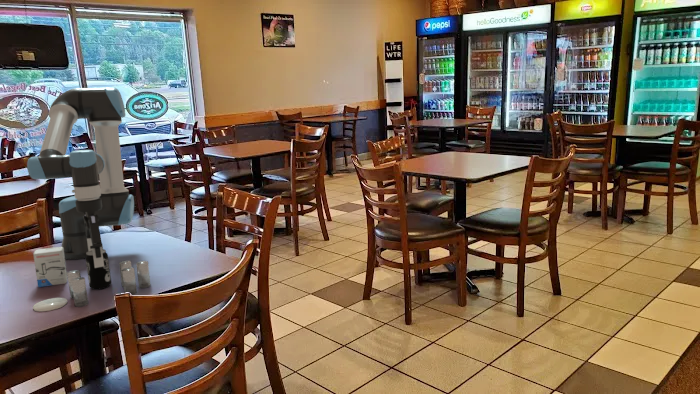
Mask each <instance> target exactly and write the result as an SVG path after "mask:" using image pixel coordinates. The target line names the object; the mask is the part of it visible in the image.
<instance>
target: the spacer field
mask: <svg viewBox="0 0 700 394" xmlns="http://www.w3.org/2000/svg"><path fill="white" fill-rule="evenodd" d="M118 265H119V274H120V282H121V287H122V288H123V290H124V291H123V292H124V293H125V292H130V293H131V294H132V295H131V296H134V295H136V294H137V293H138V290H137V284H138V288H139V289H146V287H147V288H149V287H151V276H150V268H149V262H148V261H147V260H143V261H142V260H141V261H138V262H136V263H135V266H136V272H135V268H134V267H132V261H131V260H123V261H119V262H118ZM135 273H137V274H135ZM136 275H137V281H136ZM67 278H68V279H67V282H68V289H69V295H70V299H73V300H74V306H75V307H76V308H77V307H78V308H79V307H85V306H87V305H89V297H88V292H87V291H88V290H87V284H86V278H85V277H83V276H81V270H78V269H76V270H75V269H74V270H70V271H67ZM137 282H138V283H137Z"/></svg>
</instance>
